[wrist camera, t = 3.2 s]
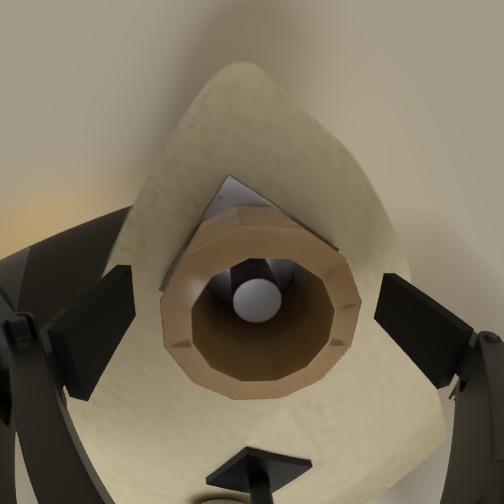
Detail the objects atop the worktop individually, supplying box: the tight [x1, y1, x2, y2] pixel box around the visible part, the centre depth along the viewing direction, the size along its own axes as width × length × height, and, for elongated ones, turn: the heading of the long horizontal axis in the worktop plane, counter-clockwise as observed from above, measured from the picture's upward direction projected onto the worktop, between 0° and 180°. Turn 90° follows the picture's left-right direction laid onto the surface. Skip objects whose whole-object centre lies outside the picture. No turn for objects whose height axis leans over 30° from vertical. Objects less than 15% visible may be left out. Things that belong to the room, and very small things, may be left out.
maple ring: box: [160, 205, 361, 400], centre depth 14 cm, size 8×8×7 cm
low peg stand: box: [159, 175, 339, 323], centre depth 16 cm, size 8×8×6 cm
